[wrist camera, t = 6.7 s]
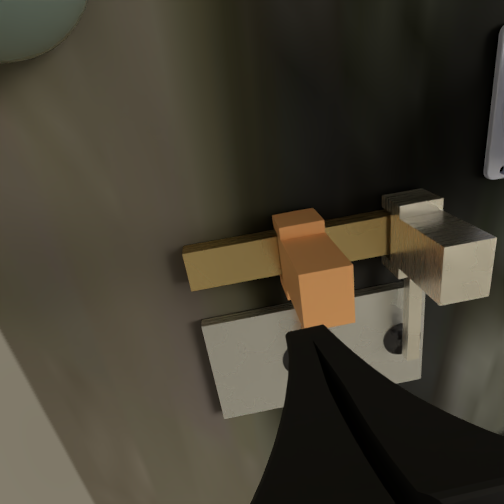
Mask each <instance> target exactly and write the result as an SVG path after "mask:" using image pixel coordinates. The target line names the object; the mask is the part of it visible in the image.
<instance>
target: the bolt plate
mask: <svg viewBox="0 0 504 504" xmlns="http://www.w3.org/2000/svg"><path fill="white" fill-rule="evenodd" d="M403 292H404V281H400V282H394V283H389V284H384V285H379V286H374V287H369V288H363V289H358V290H354V299H355V323H350V324H345V325H340V326H335V327H330V328H328V329H329V330H330V331H331V332H332V333H333V334H334V335H335V336H336V337H337V338H339V339H340V340H341V341H342V342H343V343H344V344H345V345H346V346H347V347H349V348H350V349H351V350H352V351H353V352H354V353H356V354H357V355H358V356H359V357H360V358H362V359H363V360H364V361H365V362H367V363H368V364H369V365H370V366H372V367H373V368H374V369H376V370H377V371H378V372H380V373H381V374H383V375H384V376H385V377H387V378H388V379H390V380H391V381H393V382H394V383H396V384H397V383H401V382H406V381H411V380H416V379H421V364H422V345H423V327H424V309H425V292H424V291H423V290H422V308H421V328H420V348H419V359H415V360H410V361H407V360H406V359H405V358H404V356H403V355H402V346H401V345H400V342H401V341H402V330H403ZM201 327H202V331H203V335H204V339H205V343H206V347H207V351H208V356H209V360H210V364H211V368H212V372H213V376H214V380H215V384H216V388H217V392H218V396H219V400H220V404H221V408H222V412H223V416H224V419H227V418H232V417H237V416H242V415H247V414H251V413H256V412H261V411H266V410H271V409H276V408H281V407H284V402H285V395H286V388H287V380H288V364H289V356H288V350H287V343H286V337H285V335H286V334H287V333H288V332H290V331H294V330H299V329H303V328H302V325H301V323H300V320H299V318H298V315H297V313H296V311H295V308H294V306H293V303H292V302H291V303H286V304H280V305H275V306H270V307H265V308H260V309H255V310H249V311H244V312H239V313H234V314H229V315H223V316H218V317H213V318H208V319H203V320H201Z"/></svg>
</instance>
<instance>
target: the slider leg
mask: <svg viewBox="0 0 504 504" xmlns="http://www.w3.org/2000/svg"><path fill="white" fill-rule="evenodd" d="M272 220H273V227H274V229H275V231H276V233H277V237H278V244H279V252H280V260H281V268H282V275H280V280H281V284H282V286H283V289H284V291H285V294H286V296H287V299H288V300H291V301H292V303H293V306H294V308H295V311H296V313H297V315H298V318H299V320H300V323H301V325H302V328H303V329H304V328H308V327H313V326H318V325H325V326H326V327H327V328H330V327H335V326H340V325H345V324H350V323H355V299H354V273H353V264H352V263H351V262H350V261H349V259H348V258H347V257H346V256H345V255H344V254H343V252H342V251H341V250H340V249H339V248H338V247H337V245H336V244H335V243H334V242H333V241H332V240H331V238H330V237H329V236H328V235H327V234H326V233H325V222H324V219H323V218H322V217H321V216H320V215H319V214H318V213H317V212H316V210H315V209H314V208H309V209H303V210H298V211H292V212H287V213H281V214H276V215H272Z"/></svg>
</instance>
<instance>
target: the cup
mask: <svg viewBox="0 0 504 504" xmlns="http://www.w3.org/2000/svg"><path fill="white" fill-rule="evenodd" d="M87 3H88V0H0V64H7V63H12V62H18V61H24V60H29V59H33V58H35V57H38V56H40V55H42V54H44V53H46V52H48V51H50V50H52V49H54V48H55V47H56V46H58V45H59V44H60V43H61V42H63V41H64V40H65V39H66V38H67V37H68V36H69V34H70V33H71V32H72V31H73V30H74V28H75V27H76V26H77V24H78V22H79V20H80V19H81V17H82V15H83V13H84V11H85V9H86V6H87Z"/></svg>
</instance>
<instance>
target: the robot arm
mask: <svg viewBox="0 0 504 504" xmlns="http://www.w3.org/2000/svg"><path fill="white" fill-rule="evenodd" d="M502 166H503V170H502V171H501V172H500V168H501V167H502ZM483 173H484V176H485V177H486V178H488V179H491V180H495V179H501V178H504V25H503V26H502V28H501V30H500V32H499V38H498V47H497V56H496V64H495V73H494V82H493V91H492V100H491V109H490V118H489V127H488V136H487V144H486V153H485V162H484V171H483ZM285 337H286V343H287V350H288V356H289V364H288V380H287V388H286V395H285V402H284V407H283V412H282V416H281V421H280V425H279V428H278V432H277V436H276V439H275V443H274V446H273V449H272V452H271V455H270V457H269V460H268V463H267V466H266V468H265V471H264V474H263V476H262V479H261V481H260V484H259V486H258V488H257V490H256V492H255V495H254V497H253V499H252V501H251V503H250V504H504V436H502V435H499V434H496V433H493V432H491V431H488V430H485V429H483V428H481V427H478V426H476V425H474V424H471V423H469V422H467V421H464V420H462V419H460V418H458V417H456V416H453V415H451V414H449V413H447V412H445V411H443V410H441V409H439V408H437V407H435V406H433V405H431V404H429V403H428V402H426V401H424V400H422V399H420V398H418V397H417V396H415V395H413V394H411V393H410V392H408V391H407V390H405V389H403V388H402V387H400V386H399V385H397V384H396V383H394V382H393V381H391V380H390V379H388V378H387V377H385V376H384V375H383V374H381V373H380V372H378V371H377V370H376V369H374V368H373V367H372V366H370V365H369V364H368V363H367V362H365V361H364V360H363V359H362V358H360V357H359V356H358V355H357V354H356V353H354V352H353V351H352V350H351V349H350V348H349V347H347V346H346V345H345V344H344V343H343V342H342V341H341V340H340V339H339V338H337V337H336V336H335V335H334V334H333V333H332V332H331V331H330V330H329V329H328V328H327V327H326V326H325V325H318V326H313V327H308V328H304V329H299V330H294V331H290V332H288V333H287V334H286V335H285Z"/></svg>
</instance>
